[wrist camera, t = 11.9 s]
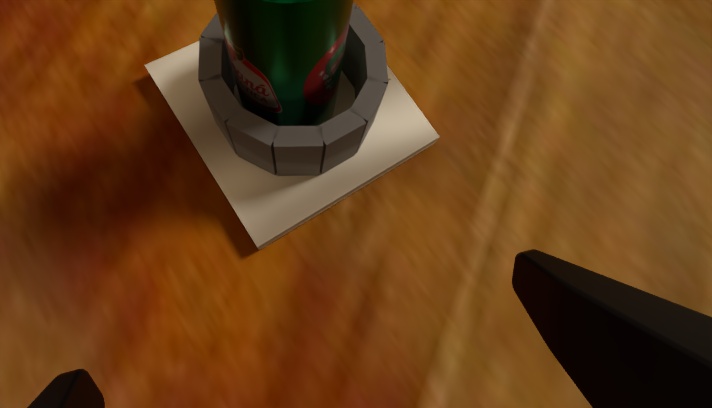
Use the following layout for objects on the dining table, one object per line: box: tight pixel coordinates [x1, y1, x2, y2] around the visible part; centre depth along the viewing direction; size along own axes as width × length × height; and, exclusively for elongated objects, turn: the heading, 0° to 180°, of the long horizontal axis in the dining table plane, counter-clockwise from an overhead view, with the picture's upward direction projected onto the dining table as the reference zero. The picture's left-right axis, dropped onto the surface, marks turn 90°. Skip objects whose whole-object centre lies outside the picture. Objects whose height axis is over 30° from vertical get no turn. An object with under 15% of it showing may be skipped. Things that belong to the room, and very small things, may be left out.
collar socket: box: [145, 3, 439, 250], centre depth 22 cm, size 12×12×5 cm
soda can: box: [214, 0, 353, 126], centre depth 18 cm, size 5×5×12 cm
